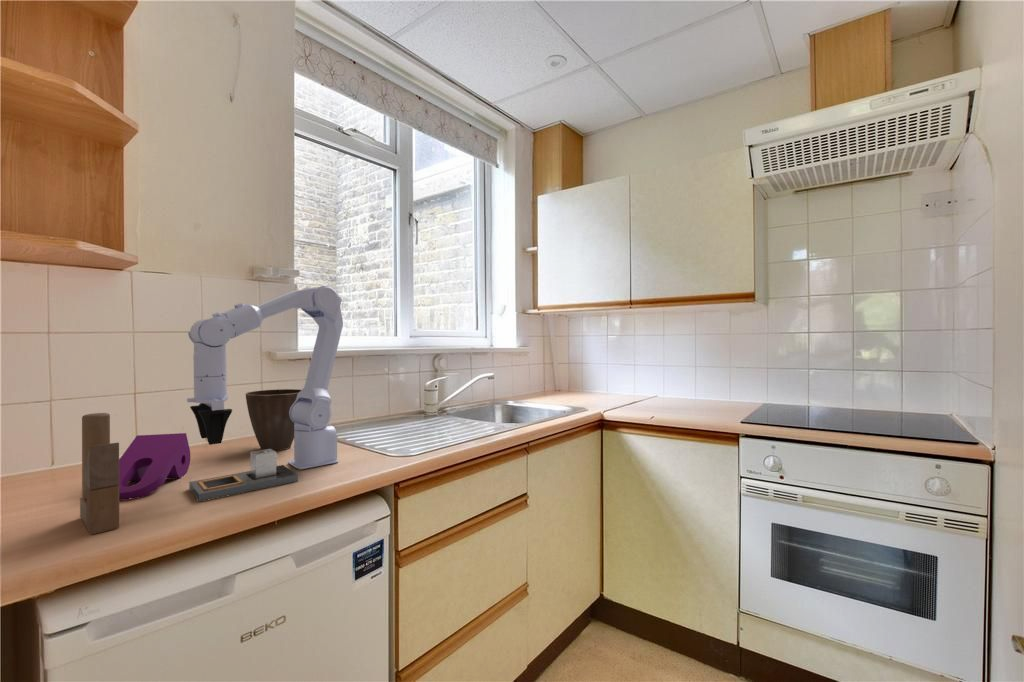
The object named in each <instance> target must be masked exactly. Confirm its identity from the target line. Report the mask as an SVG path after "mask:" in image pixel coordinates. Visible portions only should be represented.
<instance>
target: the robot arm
mask: <svg viewBox="0 0 1024 682" xmlns="http://www.w3.org/2000/svg"><path fill="white" fill-rule="evenodd" d="M341 304H342V298H341V296H340V295H339V293H338V292H337V291H336V289H335V288H334V287H332V286H330V285H326V284H325V285H321V286H315V287H305V288H302V289H297V290H293V291H288V292H287V293H284V294H282V295H280V296H277V297H275V298H272V299H270V300H268V301H266V302H264V303H261V304H259V305H257V306H255V305H252V304H251V303H246V304H243V303H241V302H240V303H237V304H234V305H233V307H234V308H231V309H228V310H226V311H224V312H221V313H220V312H214V313H212V317H210V318H204V319H199V320H197V321H195V322H194V323H193V325H191V326H190V330H189V331H188V332H187V334H188V337H189V340H190V342H192V343H193V397H188V398H186V402H187V403H197V404H198V405H190V406H189V407H190V409H191V411H192V412H193V414H194V418H195V419H196V422H197V427H198V432H199V435H200V437H201V439H206V440H207V443H208V445H210V446H211V445H217V444H218V445H219V444H222V441H223V438H224V433H225V429H226V425H227V422H228V421H229V418H230V416H231V414H232V412H233V409H231V408H225V402H226V401H228V399H229V396H228V395H227V394H228V393H227V391H228V390H227V389H228V388H227V384H228V383H227V351H226V350H227V343H228V342H229V341H230V339H234V338H237V337H239V336H241V335H243V334H246V333H249V332H250V331H253V330H255V329H258V328H260V327H261V326H262V323H263V321H264V319H267V318H269V317H273V316H275V315H277V314H281V313H283V312H285V311H289V310H291V309H301V311H303V312H304V313H305V314H307V315H308V316H309V317H311V318H312V319H313V320H314V321H315V323H316V324H317V326H318V331H317V335H316V338H315V343H314V346H313V351H312V354H311V359H310V361H309V366H308V371H307V374H306V378H305V383H304V387H302V389H300V390H301V391H300V392H299V393H298V394H297V398H296V400H295V402H294V403H293V405H292V406H291V408H290V411H289V416H290V419H291V420H292V421H293V422H294V440H293V448H294V451H293V452H294V456H293V457H294V459H293V460H289V461H288V464H289V465H291V466H292V467H294V468H296V469H297V470H304V469H310V468H315V467H316V468H317V467H321V466H326V465H330V464H336V463H339V460H338V435H337V431H336V428H335V427H334V426H333V425H328V424H329V423H330V422H331V419H332V410H331V409H332V407H331V404H332V397H331V396H330V393H329V391H328V390H329V389H328V388H329V386H330V385H329V384H330V381H331V377H332V372H333V368H334V365H335V360H336V357H337V356H336V355H337V352H338V347H339V343H340V339H341V336H342V335H341V334H342V330H343V327H344V319H343V314H342V310H341V309H342V308H341Z"/></svg>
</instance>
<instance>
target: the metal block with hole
mask: <svg viewBox="0 0 1024 682" xmlns="http://www.w3.org/2000/svg"><path fill="white" fill-rule="evenodd" d="M276 466H277V451H274V450H272V449H266V450H261V449H260V450H254V451H253V450H252V451H250V471H251V479H252V480H257V479H262V478H267V477H272V476H276Z"/></svg>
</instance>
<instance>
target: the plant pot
mask: <svg viewBox="0 0 1024 682" xmlns="http://www.w3.org/2000/svg"><path fill="white" fill-rule="evenodd" d="M301 390H302V389H298V388H297V389H295V388H294V389H292V388H289V389H288V388H286V389H281V388H279V389H264V390H254V391H248V392H245V394H244V395H245V402H246V407H247V411H248V417H249V419H250V424H251V426H252V430H253V432H254V435H255V439H256V441H257V442H258V445H259V447H260V450H266V449H272V450H274V451H275V452H278V450H279V451H283V450H288V449H289V448H290V449H291V447H292V444H293V443H294V422H293V421H292V420H291V419H290V416H289V411H290V408H291V406H292V405H293V403H294V402H295V400H296V398H297V394H298V393H299V392H300V391H301ZM287 448H288V449H287Z"/></svg>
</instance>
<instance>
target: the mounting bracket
mask: <svg viewBox="0 0 1024 682" xmlns="http://www.w3.org/2000/svg"><path fill="white" fill-rule="evenodd" d="M190 450H191V449H190V445H189V441H188V436H187V433H186V432H183V433H181V432H179V433H163V434H142V435H140V434H139V435H136V436H135V437H134V439H133V440H132V441H131V443H130V444H129V446H128V447H127V448H126V450H125V451H124V452H123V454H122V455H121V456H120V457H119V499H127V500H130V499H129V498H135V499H138V498H137V497H141V498H143V497H142V496H144V497H145V496H147V495H150V494H152V493H154V492H155V491H156V490H158V489H159V488H161V486H162V485H163V484H164V483H165V481H166V479H167V480H172V479H173V478H175V479H182V478H183V477H185V476H186V475H187V473H188V472H189V469H190V465H191V451H190ZM185 474H186V475H185ZM184 475H185V476H184ZM182 476H183V477H182ZM181 477H182V478H181ZM131 481H135V482H137V483H136V484H133V485H130V486H127V485H128V484H129V482H130V483H131Z"/></svg>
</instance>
